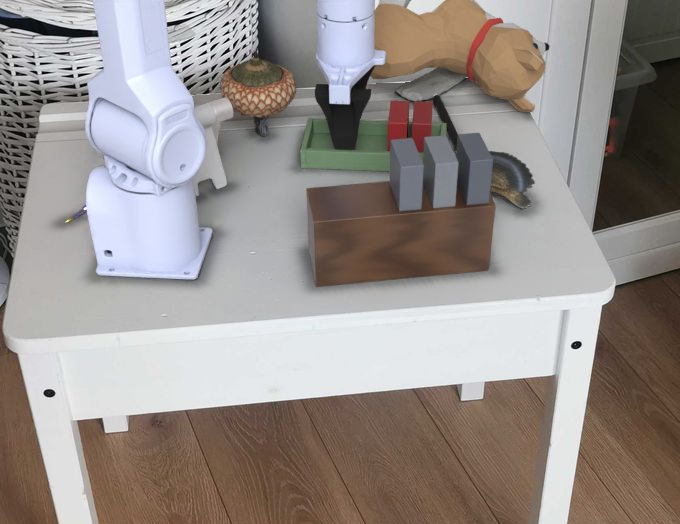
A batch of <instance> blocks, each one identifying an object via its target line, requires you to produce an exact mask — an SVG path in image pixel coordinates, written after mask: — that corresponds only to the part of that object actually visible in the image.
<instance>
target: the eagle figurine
mask: <svg viewBox="0 0 680 524" xmlns="http://www.w3.org/2000/svg"><path fill="white" fill-rule="evenodd" d="M488 151H489V152H490V154H491V156H492V158H493V167H492V177H491V187H490V192H493V193H496V194H497V195H499V196H502V197H503V198H505V199H507V200H508V201H509V202H511V203H512V204H514V205H515V206H516V207H518V208H520V209H521V210H523V209H528V207H531V206H532V201H531V200H530V199H529V196H527V195H526V194H524V193H526V192H528V189H532V188H533V186H534V185H535V184H536V182H535V180H534V179H533V177H534V174H533V173H532V172H531V170H530V168H529V167H528V166H527V164H526V163H525V162H523V161H522V160H521V159H519V158H518V157H517V156H514V155H513V154H510V153H508V152H506V151H505V152H504V151H495V150H494V151H493V150H488ZM453 152H454V154H455V156H456V151H454V150H453Z"/></svg>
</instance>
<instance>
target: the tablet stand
mask: <svg viewBox="0 0 680 524" xmlns="http://www.w3.org/2000/svg"><path fill="white" fill-rule="evenodd" d="M194 109H195V113H196V117H197V119H198V120H199V122H200V123H201V125H202V126H203V128H204V130H205V134H206V139H207V148H206V154H205V157H204V160H203V163H202V165H201V167H200V168H199V170H198V171H197V176H195V177H194V178H193V180H194V188H195V196H196V197H199V196H200V191H199V185H198V184H199V183H200V182H202V181H206V180H209V179H210V180H211V181H212V183H213V186H214V188H215V190H219V189H222V188H225V187H226V186H227V184H228V180H227V176H226V173H225V169H224V165H223V162H222V159H221V155H220V151H219V148H218V142H219V141H218V140H219V136H220V135H219V134H220V129H221V124H222V122H224V121H227V120H231V119H233V118H234V111H233V107H232V104H231V102H230V101H229V99H228V98H226V97H224V98H222V97H221V98H218V99H214V100H212V101H209V102H206V103H202V104H200V105H196V106H195V105H194Z"/></svg>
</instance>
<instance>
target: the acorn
mask: <svg viewBox="0 0 680 524" xmlns="http://www.w3.org/2000/svg"><path fill="white" fill-rule="evenodd" d="M252 56H253V57H252V58H251V59H248V60H245V61H243V62H240V63H237V64H235V65H233V66H232V67H230V68H228V69H227V70H226V71H225V72H224V73H223V74H222V76H221V79H220V84H219V90H220V96H221V98H224V97H226V98H228V99H229V101H230V102H231V104H232V107H233V113H236V114H239V115H241V116H242V117H243V116H244V117H252V118H253V122H254V125H255V133H256V134H258V136H262V137H266V136H268V135H269V132H270V130H269V126H270V124H269V117H270V116H272V115H277V114H280V113H282V112H283V111H286V109H287V108H288V106H289V105H290V104H291V103H292V101H293V100H294V99H295V97H296V93H297V85H296V81H295V78H294V75H293V73H292V72H291V71H289V70H288V69H287V68H285V67H282V66H280V65H278V64H276V63H273V62H271V61H269V60H266V59H261V58H260V56H259V53H258V51H257V50H254V52H253V54H252Z"/></svg>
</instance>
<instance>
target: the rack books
mask: <svg viewBox="0 0 680 524" xmlns="http://www.w3.org/2000/svg"><path fill="white" fill-rule="evenodd" d="M433 107H434V101H420V100H419V101H413V111H412V121H411V122H412V138H413V140H414V143H415V145H416V148H417V150H418V152H422V153H423V151H424V137H431V129H432V123H433ZM388 111H389V112H388V119H387V121H388V145H387V151H390V140H394V139H406V138H408V126H409V122H410V100H390V103H389V110H388Z"/></svg>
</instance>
